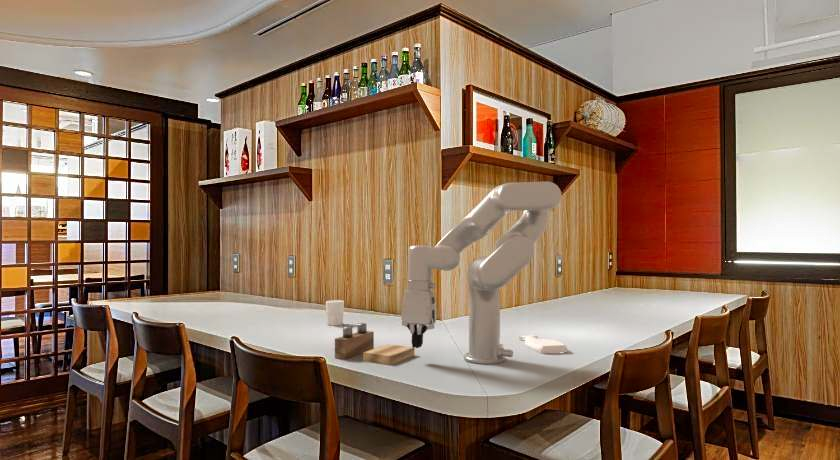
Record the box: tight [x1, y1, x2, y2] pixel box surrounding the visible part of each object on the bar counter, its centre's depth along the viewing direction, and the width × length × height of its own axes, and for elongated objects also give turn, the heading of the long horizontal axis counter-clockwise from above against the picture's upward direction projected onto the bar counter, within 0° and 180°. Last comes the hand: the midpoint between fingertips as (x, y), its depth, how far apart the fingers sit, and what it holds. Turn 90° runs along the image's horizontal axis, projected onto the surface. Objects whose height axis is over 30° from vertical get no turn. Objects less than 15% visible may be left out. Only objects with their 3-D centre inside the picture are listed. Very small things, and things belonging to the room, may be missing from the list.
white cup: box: [325, 299, 345, 327], centre depth 225 cm, size 8×8×10 cm
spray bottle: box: [518, 334, 568, 354], centre depth 181 cm, size 3×11×25 cm
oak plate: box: [362, 343, 416, 366], centre depth 163 cm, size 10×14×3 cm
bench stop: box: [334, 322, 375, 360], centre depth 169 cm, size 4×16×9 cm, turn 152°
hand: (416, 346), depth 158 cm, fingers closed
